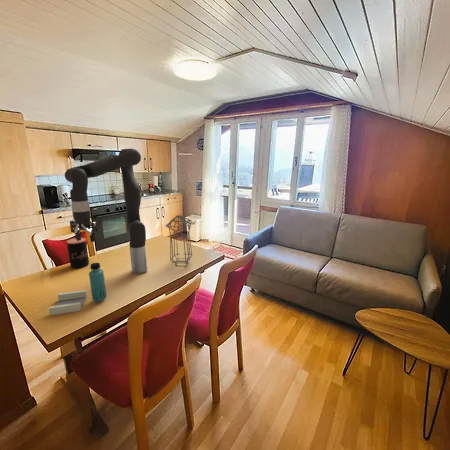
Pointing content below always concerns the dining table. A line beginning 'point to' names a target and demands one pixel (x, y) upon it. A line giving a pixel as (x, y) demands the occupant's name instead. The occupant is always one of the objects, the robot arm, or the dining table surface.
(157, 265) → the dining table surface
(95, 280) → the beverage bottle
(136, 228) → the robot arm
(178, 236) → the geometric lantern
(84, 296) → the cradle
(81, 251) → the coffee jar
